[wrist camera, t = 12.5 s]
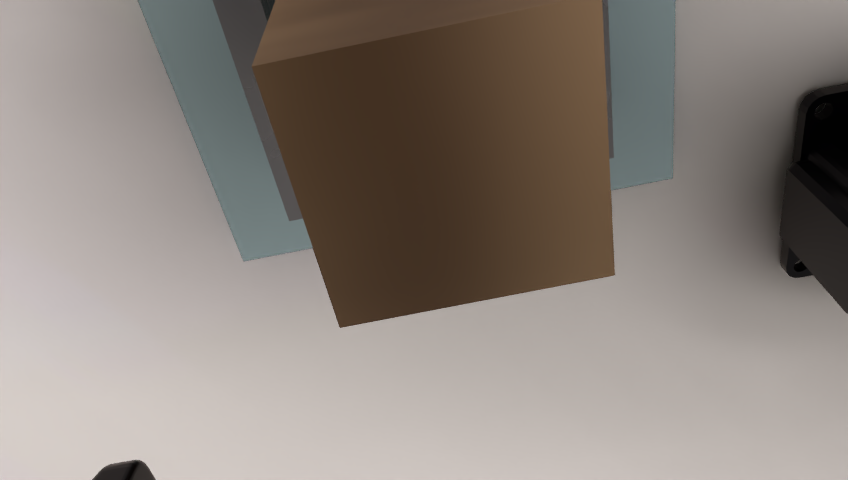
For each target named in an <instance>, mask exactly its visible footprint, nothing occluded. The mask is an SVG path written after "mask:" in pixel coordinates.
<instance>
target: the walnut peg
mask: <svg viewBox="0 0 848 480" xmlns="http://www.w3.org/2000/svg"><path fill="white" fill-rule="evenodd" d="M252 69H253V72H254V75H255V78H256V81H257V84H258V87H259V90H260V93H261V96H262V99H263V102H264V105H265V108H266V111H267V114H268V117H269V120H270V123H271V126H272V129H273V132H274V134H275V137H276V140H277V143H278V146H279V149H280V152H281V155H282V158H283V161H284V164H285V167H286V170H287V173H288V176H289V179H290V182H291V185H292V188H293V191H294V194H295V197H296V200H297V203H298V205H299V208H300V211H301V214H302V217H303V220H304V223H305V226H306V229H307V232H308V235H309V238H310V241H311V244H312V247H313V250H314V253H315V256H316V259H317V262H318V265H319V268H320V271H321V274H322V276H323V279H324V282H325V285H326V288H327V291H328V294H329V297H330V300H331V303H332V306H333V309H334V312H335V315H336V318H337V321H338V324H339V327H340V328H341V327H347V326H352V325H357V324H362V323H368V322H373V321H378V320H383V319H389V318H394V317H399V316H404V315H409V314H415V313H420V312H425V311H430V310H436V309H441V308H446V307H451V306H457V305H462V304H467V303H472V302H477V301H483V300H488V299H493V298H498V297H504V296H509V295H514V294H519V293H525V292H530V291H535V290H540V289H545V288H551V287H556V286H561V285H566V284H572V283H577V282H582V281H587V280H593V279H598V278H603V277H608V276H613V275H615V270H614V248H613V226H612V205H611V183H610V161H609V139H608V118H607V96H606V74H605V53H604V31H603V9H602V0H275V3H274V6H273V8H272V11H271V14H270V17H269V19H268V22H267V25H266V28H265V31H264V33H263V36H262V39H261V42H260V44H259V47H258V50H257V53H256V56H255V58H254V61H253V64H252Z"/></svg>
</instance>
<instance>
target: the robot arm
mask: <svg viewBox="0 0 848 480" xmlns="http://www.w3.org/2000/svg"><path fill="white" fill-rule="evenodd" d="M823 103H825V106H824V108H823V109H822V110H821V111H820V112H818V113H816V114H815V111H816V108H818V107H819V106H820V105H821V104H823ZM779 234H780V237H781V238H782V240H783V243H782V251H781V259H780V263H781V266H782V268H783V269H784V270H785V271H786V272H787V274H788V275H789V276H791V277H794V278H799V277H805V276H811V275H814V276H815V278H816V279H817V280H818V281H819V282H820V283H821V284H822V286H823V287H824V288H825V289H826V290H827V291H828V292H829V294H830V295H831V296H832V297H833V298H834V299H835V301H836V302H837V303H838V304H839V305H840V306H841V307H842V309H843V310H844V311H845V312H846V313H847V314H848V84H843V85H838V86H833V87H828V88H823V89H818V90H816V91H813V92H811V93H810V94H808V95H807V96H806V97H805V98H804V99H803V101H802V102H801V104H800V107H799V112H798V120H797V128H796V136H795V145H794V153H793V161H792V163H791V165H790V167H789V168H788V170H787V173H786V182H785V190H784V199H783V207H782V216H781V224H780V233H779ZM799 260H801V261H800V262H799V263H797V264H795V263H796V262H798V261H799ZM92 480H156V479H155V478H154V476H153V474H152V473H151V471H150V469H149V468H148V466H147V465H146V464H145V463H144V462H142V461H140V460H132V461H126V462H120V463H114V464H110V465H108V466H106V467H104V468H103V469H102V470H101V471H100V472H99V473H98V474H97V475H96V476H95V477H94V478H93V479H92Z"/></svg>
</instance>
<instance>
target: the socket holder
mask: <svg viewBox="0 0 848 480" xmlns="http://www.w3.org/2000/svg"><path fill="white" fill-rule="evenodd" d="M675 1H676V0H602V9H603V31H604V53H605V74H606V96H607V118H608V139H609V161H610V183H611V190H616V189H621V188H626V187H631V186H636V185H641V184H647V183H652V182H657V181H662V180H667V179H672V178H673V133H674V67H675ZM138 2H139V5H140V7H141V10H142V12H143V15H144V17H145V20H146V22H147V25H148V27H149V29H150V32H151V34H152V37H153V39H154V42H155V44H156V47H157V49H158V52H159V54H160V57H161V59H162V61H163V64H164V66H165V69H166V71H167V74H168V76H169V79H170V81H171V84H172V86H173V89H174V91H175V94H176V96H177V98H178V101H179V103H180V106H181V108H182V111H183V113H184V116H185V118H186V121H187V123H188V126H189V128H190V131H191V133H192V135H193V138H194V140H195V143H196V145H197V148H198V150H199V153H200V155H201V158H202V160H203V163H204V165H205V167H206V170H207V172H208V175H209V177H210V180H211V182H212V185H213V187H214V190H215V192H216V195H217V197H218V200H219V202H220V204H221V207H222V209H223V212H224V214H225V217H226V219H227V222H228V224H229V227H230V229H231V232H232V234H233V237H234V239H235V241H236V244H237V246H238V249H239V251H240V254H241V256H242V259H243V261H248V260H254V259H259V258H264V257H269V256H274V255H280V254H285V253H290V252H295V251H300V250H305V249H311V248H313V247H312V244H311V241H310V238H309V235H308V232H307V229H306V226H305V223H304V220H303V217H302V214H301V211H300V208H299V205H298V203H297V200H296V197H295V194H294V191H293V188H292V185H291V182H290V179H289V176H288V173H287V170H286V167H285V164H284V161H283V158H282V155H281V152H280V149H279V146H278V143H277V140H276V137H275V134H274V132H273V129H272V126H271V123H270V120H269V117H268V114H267V111H266V108H265V105H264V102H263V99H262V96H261V93H260V90H259V87H258V84H257V81H256V78H255V75H254V72H253V69H252V64H253V61H254V58H255V56H256V53H257V50H258V47H259V44H260V42H261V39H262V36H263V33H264V31H265V28H266V25H267V22H268V19H269V17H270V14H271V11H272V8H273V6H274V3H275V0H138Z"/></svg>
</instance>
